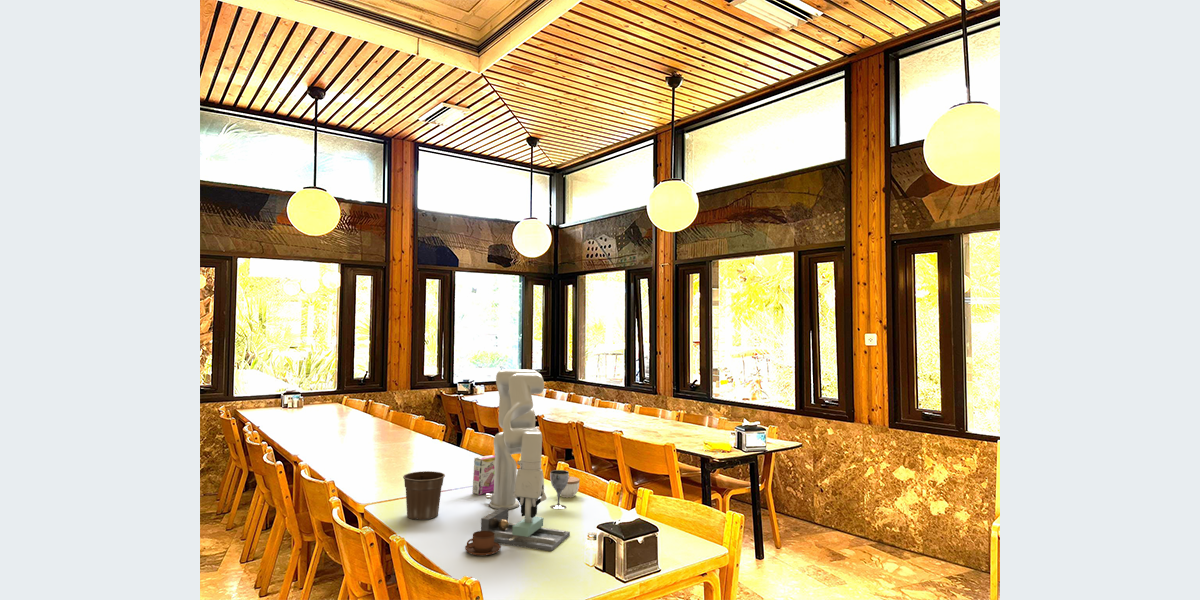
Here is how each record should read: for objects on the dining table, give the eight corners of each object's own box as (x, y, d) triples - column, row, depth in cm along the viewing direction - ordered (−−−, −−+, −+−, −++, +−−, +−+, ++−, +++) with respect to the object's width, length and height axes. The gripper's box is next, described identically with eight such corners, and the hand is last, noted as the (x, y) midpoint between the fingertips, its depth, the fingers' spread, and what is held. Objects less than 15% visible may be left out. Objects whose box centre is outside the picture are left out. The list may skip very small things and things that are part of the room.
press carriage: (512, 534, 222) (514, 490, 222) (528, 523, 235) (530, 482, 236) (527, 536, 220) (529, 492, 221) (543, 525, 233) (544, 483, 234)
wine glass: (570, 505, 272) (571, 471, 273) (563, 510, 264) (564, 474, 265) (553, 503, 275) (554, 469, 275) (546, 508, 267) (547, 472, 268)
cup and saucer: (484, 561, 204) (484, 542, 204) (457, 553, 210) (458, 535, 210) (507, 551, 214) (508, 533, 214) (481, 544, 220) (482, 526, 220)
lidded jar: (583, 495, 290) (584, 475, 291) (570, 500, 281) (571, 479, 282) (564, 491, 296) (565, 471, 296) (551, 496, 287) (552, 475, 287)
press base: (479, 540, 223) (479, 519, 224) (501, 526, 240) (502, 506, 241) (551, 551, 215) (552, 529, 215) (569, 535, 232) (570, 515, 232)
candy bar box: (479, 495, 283) (481, 459, 284) (472, 493, 286) (473, 457, 287) (497, 491, 292) (498, 456, 293) (489, 489, 295) (491, 454, 296)
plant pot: (393, 515, 250) (395, 474, 251) (428, 507, 261) (430, 469, 262) (414, 524, 239) (417, 482, 239) (450, 516, 250) (452, 476, 251)
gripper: (506, 465, 227) (503, 516, 226) (547, 469, 222) (545, 521, 221) (514, 461, 235) (512, 510, 234) (555, 465, 230) (553, 516, 229)
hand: (528, 515), depth 228 cm, fingers closed on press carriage, 3 cm apart
